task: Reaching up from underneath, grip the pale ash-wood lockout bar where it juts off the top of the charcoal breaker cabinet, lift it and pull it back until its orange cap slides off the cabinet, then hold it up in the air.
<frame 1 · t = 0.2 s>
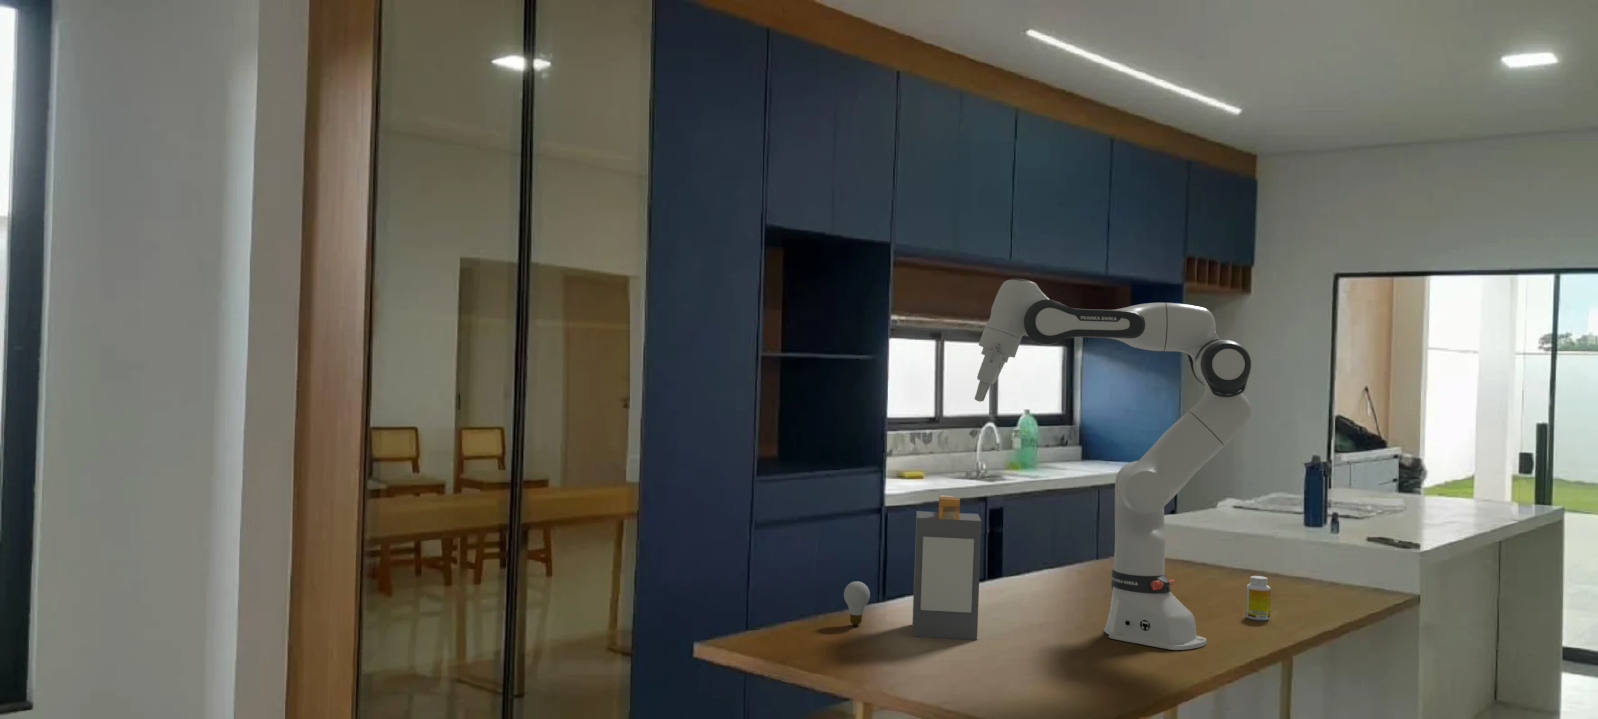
hand: (978, 400, 280), 52 cm above the worktop, tool tilted 15°, fingers open, 8 cm apart
supplement bottle: (1257, 619, 296), on the worktop
light bulb: (855, 626, 272), on the worktop
lockout bar: (947, 513, 274), point 26 cm above the worktop, touching breaker cabinet
breaker cabinet: (943, 631, 269), on the worktop
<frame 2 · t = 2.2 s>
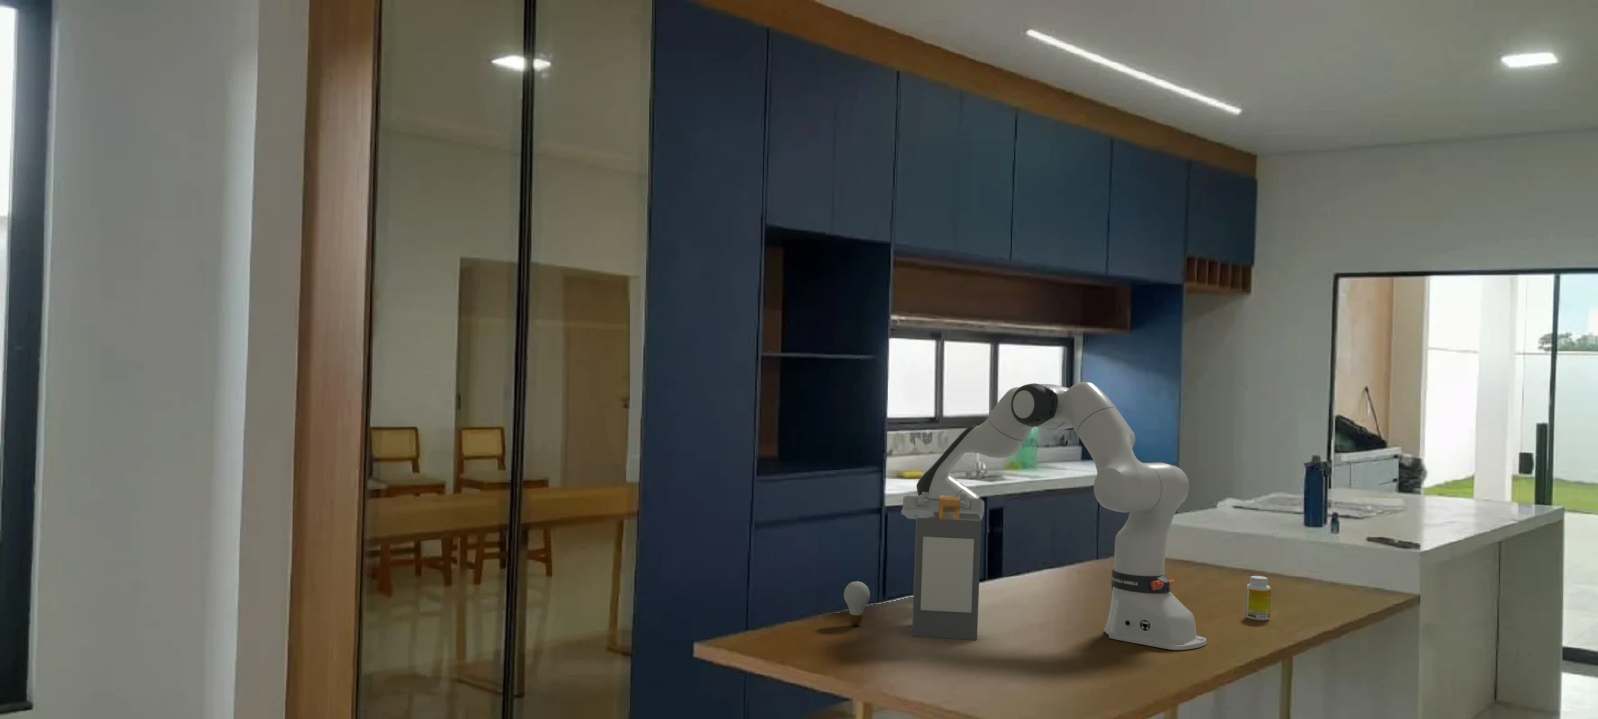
hand: (944, 495, 295), 27 cm above the worktop, tool pointing upward, fingers open, 8 cm apart
nothing on the worktop moved.
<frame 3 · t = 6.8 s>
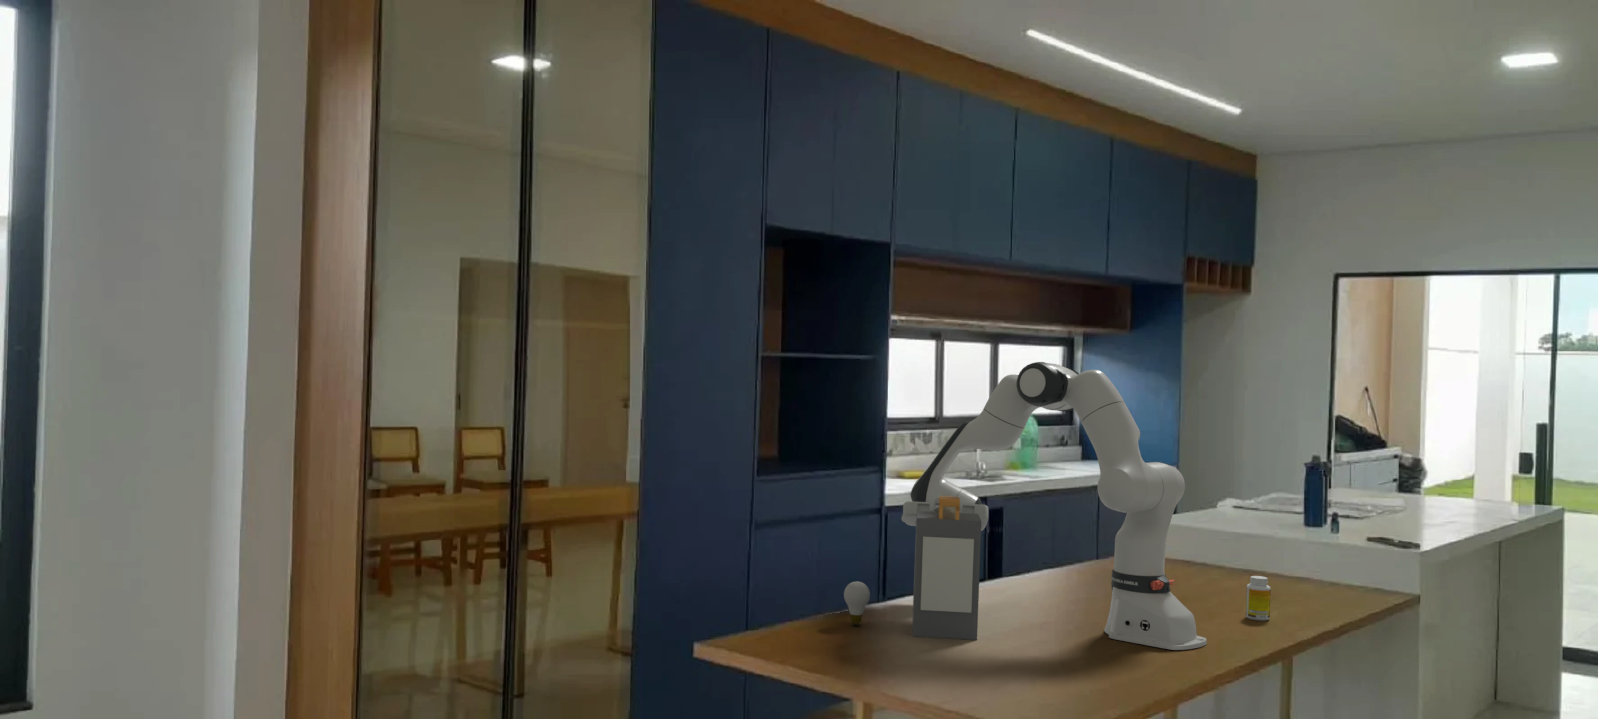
hand: (946, 501, 280), 28 cm above the worktop, tool pointing upward, fingers closed on lockout bar, 3 cm apart
lockout bar: (947, 513, 274), point 26 cm above the worktop, touching breaker cabinet, gripper
everything else where it was.
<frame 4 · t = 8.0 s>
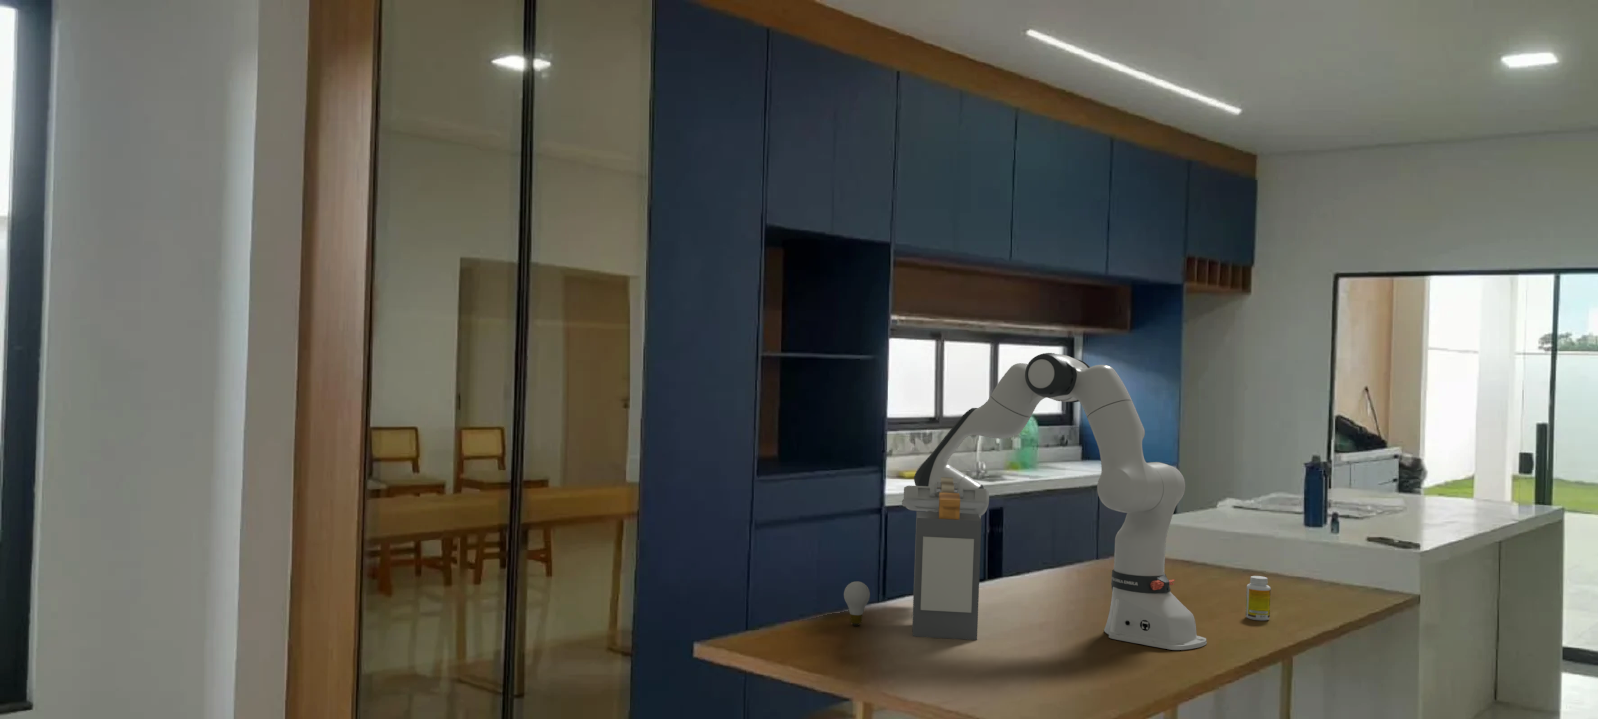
hand: (947, 485, 280), 32 cm above the worktop, tool pointing upward, fingers closed on lockout bar, 3 cm apart
lockout bar: (947, 503, 274), point 28 cm above the worktop, tilted 11°, touching breaker cabinet, gripper
everything else where it was.
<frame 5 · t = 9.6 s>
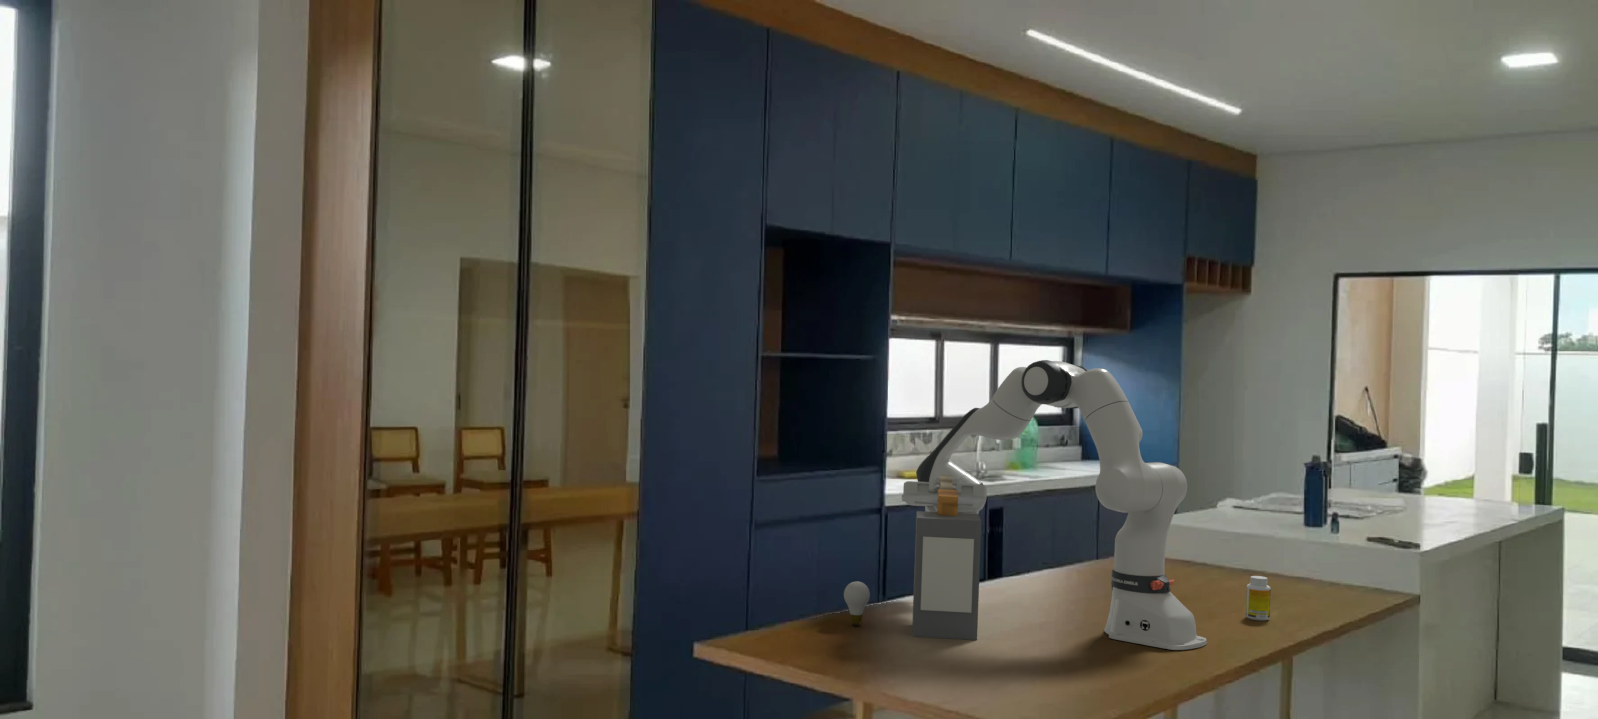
hand: (946, 481, 287), 32 cm above the worktop, tool pointing upward, fingers closed on lockout bar, 3 cm apart
lockout bar: (946, 500, 280), point 28 cm above the worktop, tilted 11°, touching gripper
everything else where it was.
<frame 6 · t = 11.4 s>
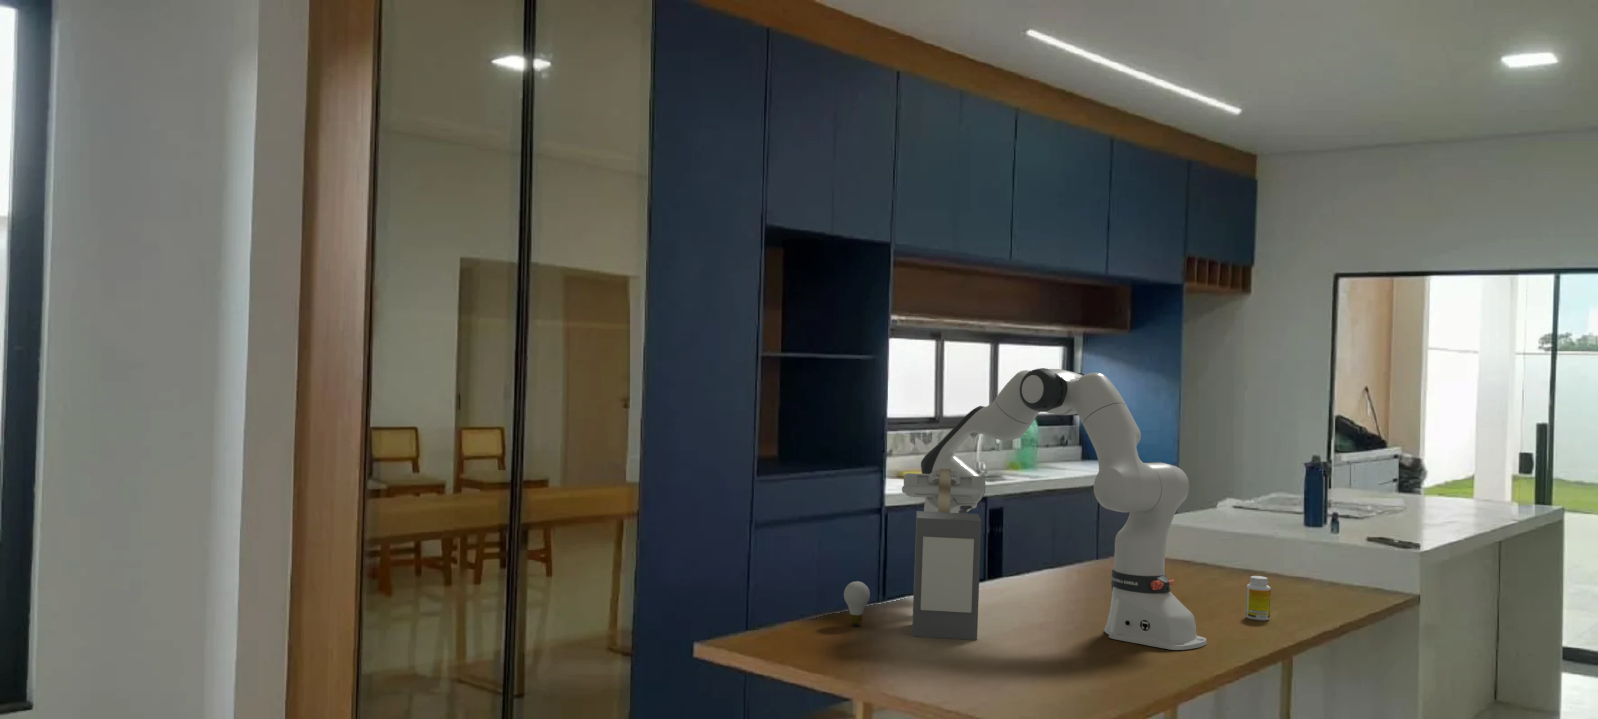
hand: (945, 472, 294), 33 cm above the worktop, tool pointing upward, fingers closed on lockout bar, 3 cm apart
lockout bar: (943, 514, 296), point 23 cm above the worktop, tilted 77°, touching gripper
everything else where it was.
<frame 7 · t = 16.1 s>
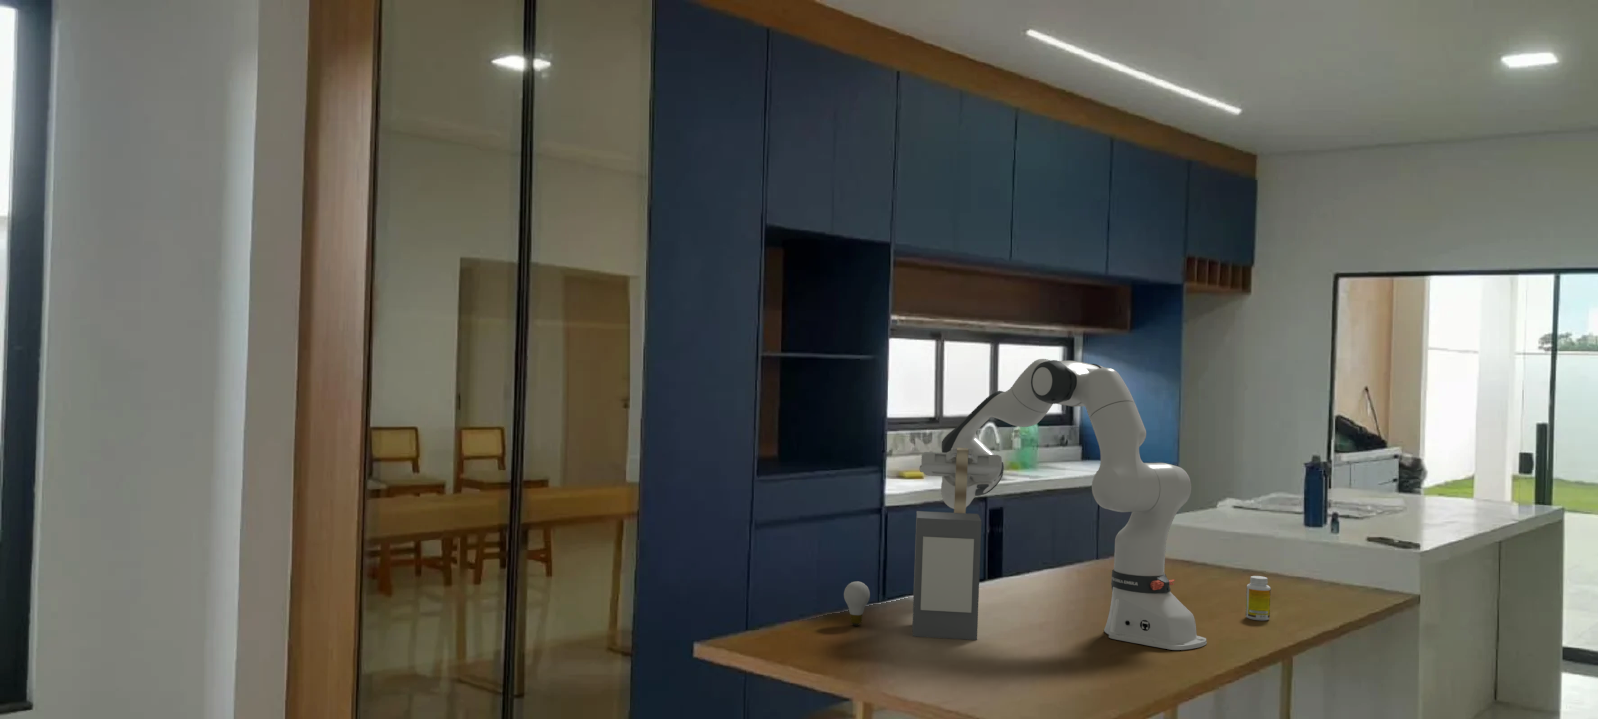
hand: (962, 451, 299), 38 cm above the worktop, tool pointing upward, fingers closed on lockout bar, 3 cm apart
lockout bar: (960, 490, 304), point 28 cm above the worktop, tilted 99°, touching gripper
everything else where it was.
at the end: the gripper is holding lockout bar; lockout bar moved 30.8 cm from its start; lockout bar point 28.1 cm above the worktop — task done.
